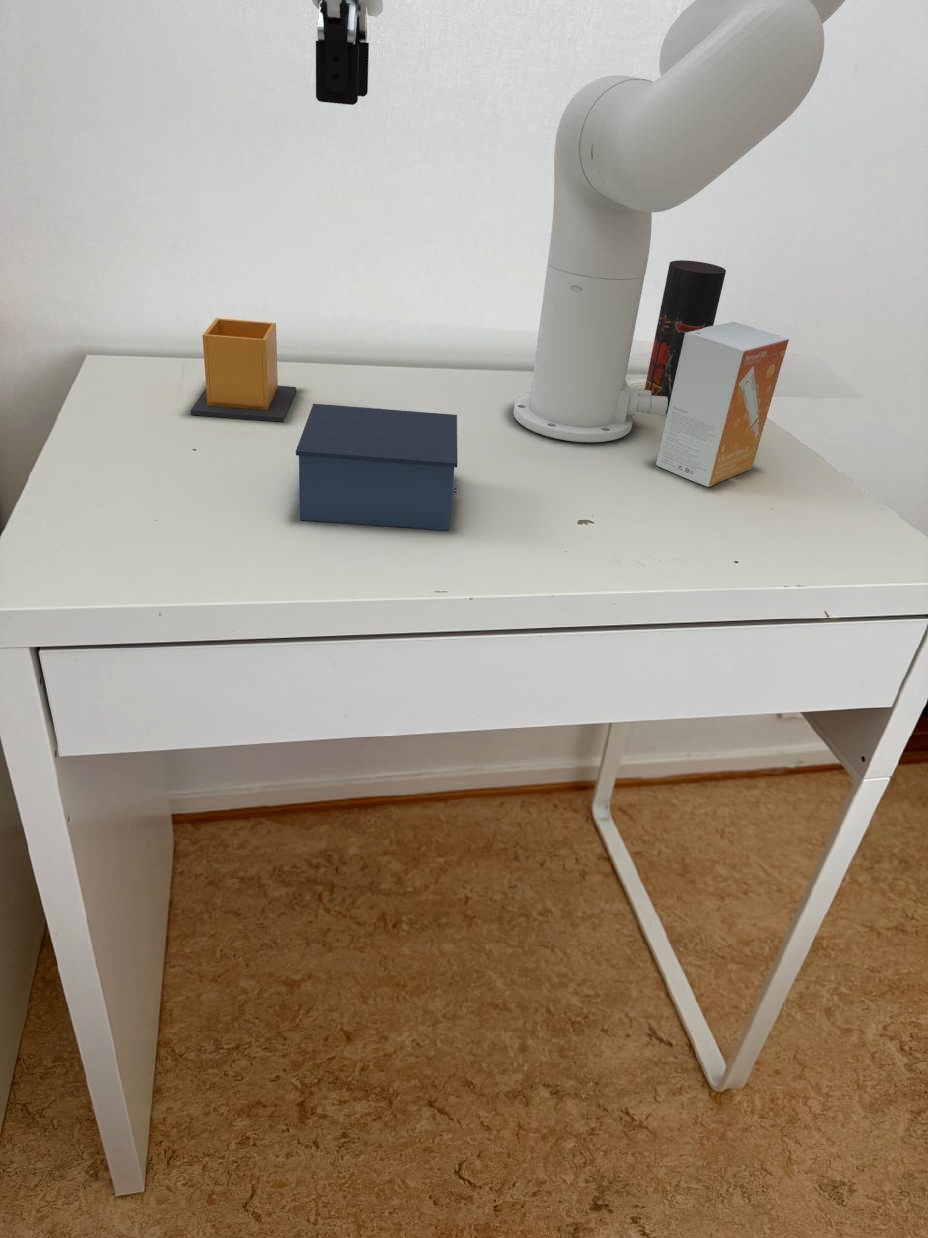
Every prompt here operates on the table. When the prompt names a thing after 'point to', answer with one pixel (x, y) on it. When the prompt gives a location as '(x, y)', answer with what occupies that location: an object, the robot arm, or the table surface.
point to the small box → (720, 401)
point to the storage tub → (377, 467)
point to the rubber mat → (273, 414)
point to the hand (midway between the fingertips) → (343, 98)
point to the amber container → (240, 364)
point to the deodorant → (682, 318)
